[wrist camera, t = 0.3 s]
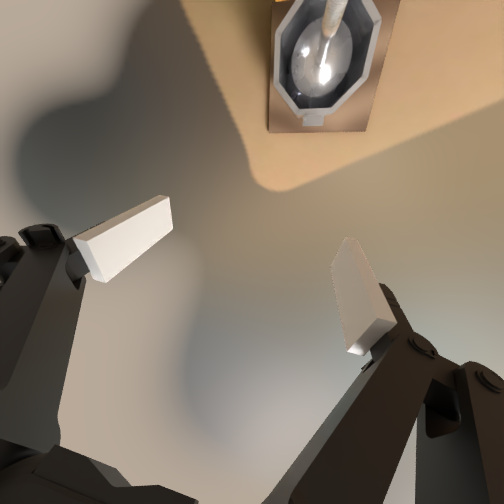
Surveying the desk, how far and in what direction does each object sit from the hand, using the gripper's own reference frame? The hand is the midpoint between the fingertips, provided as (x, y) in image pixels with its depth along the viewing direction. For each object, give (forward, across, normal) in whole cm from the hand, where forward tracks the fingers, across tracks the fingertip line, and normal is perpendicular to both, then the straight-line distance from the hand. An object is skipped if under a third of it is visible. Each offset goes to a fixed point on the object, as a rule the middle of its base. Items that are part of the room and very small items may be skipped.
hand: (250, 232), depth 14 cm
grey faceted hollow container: (+28, +2, +13) cm, 31 cm away
